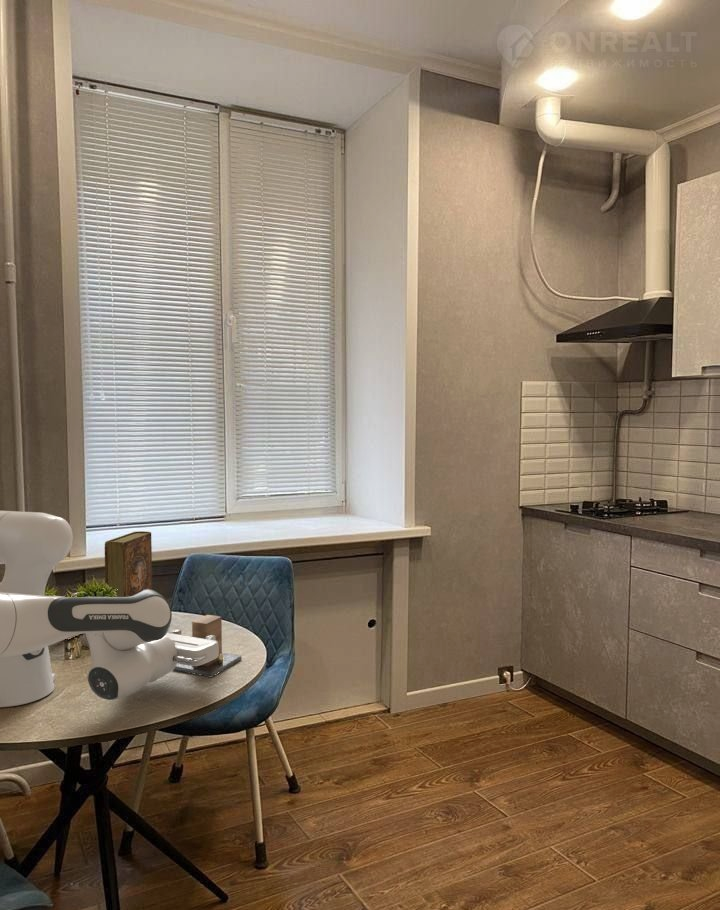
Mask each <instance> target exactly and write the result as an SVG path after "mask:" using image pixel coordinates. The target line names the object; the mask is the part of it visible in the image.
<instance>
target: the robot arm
mask: <svg viewBox="0 0 720 910" xmlns="http://www.w3.org/2000/svg"><path fill="white" fill-rule="evenodd" d="M72 530H73V529H72V527H71V525H70V524H69V522H68V521H67V520H66V519H65V518H63V517H61V516H60V517H59V516H56V515H53V514H49V513H46V512H36V511H15V510H14V511H13V510H0V565H4V566H5V567H4V568H5V570H4V575H3V578H2V581H0V708H7V707H15V706H20V705H21V706H22V705H25V704H29V703H32V702H35V701H38V700H40V699H43V698H45V697H46V696H48V695H50V694H51V693H52V692H54V689H55V684H54V681H55V679H56V676H55V673H54V672H52V666H51V665H52V664H51V657H50V656H51V655H50V650H49V649H50V648H49V646H52V645H54V644H56V643H59V642H61V641H65V640H64V639H67V638H70V637H72V636H76V635H79V634H81V635H83V634H84V636H85V637H84V638H85V640H86V645H87V646H88V648H89V652H90V666H89V669H88V673H87V682H88V685H89V687H90V689H91V691H92V692H93V693H94V694H95V695H97V697H99V698H101V699H104V700H108V701H114V700H119V699H120V700H121V699H123V698H126V697H128V696H130V695H132V694H134V693H136V692H138V691H139V690H142V689H143V688H145V687H146V685H147V684H148V683H153V682H156V681H157V680H160V678H163V677H164V676H166V675H168V674H170V673H171V672H173V671H175V670H174V668H175V667H176V664H177V663H178V664H183V665H189V666H200V665H203V664H205V663H208V662H210V661H212V660H214V659H216V658H217V657H218V655H219V645H218V642H217V641H216V638H215V636H214V635H208V636H206V639H203V638H197V637H192V635H191V636H190V635H183V634H182V630H181V629H176V628H175V629H173V630H170V631H169V629H170V626H171V623H172V617H173V615H172V608H171V605H170V603H169V602H168V600H167V598H165V597H164V596H163V595H162V594H160V593H159V592H158V591H156V590H153V589H152V590H150V589H147V590H143V591H141V592H139V593H137V594H135V595H134V596H130V597H106V596H84V597H62V596H63V595H62V596H60V595H57V596H56V595H45V591H46V588H47V587H46V586H47V582H48V580H49V577H50V575H51V573H52V571H53V570H54V569H55V567H56V566H57V565H58V564H59V563H61V562H62V561H63V560H64V559H65V558H66V557H67V555H68V554H69V553H70V551H71V548H72V546H73V541H74V540H73V539H74V537H73V535H74V534H73V531H72ZM79 636H80V635H79Z"/></svg>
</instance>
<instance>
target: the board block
mask: <svg viewBox="0 0 720 910" xmlns="http://www.w3.org/2000/svg"><path fill="white" fill-rule="evenodd" d="M222 621H223V620H222V616H220V615H213V614H206V615H203V616H202V617H199V618H197V619H195V620H193V621H191V637H197V638H203V639H206V636H208V635H214V636H215V638H216V641H217V642H218V645H219V654H222V651H223V643H222V641H223V638H222V637H223V636H222V635H223V634H222V632H223V631H222V630H223V627H222V625H223V623H222ZM217 660H218V657H217V658H216V659H214V660H212V661H210V662H208V663H205V664H203V666H208V665H210V664H212V663H213V662H215V661H217Z"/></svg>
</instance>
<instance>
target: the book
mask: <svg viewBox="0 0 720 910" xmlns="http://www.w3.org/2000/svg"><path fill="white" fill-rule="evenodd" d="M152 552H153V548H152V532H151V531H142V530H141V531H132V532H129V533H126V534H124V535H120V536H118V537H114V538H111V539H110V540H109V539H108V540H106V541H105V542H104V581H105V582H104V584H105V583H107V584H108V585H109V586H110V587H113V588H117V589H118V591H117V597H130V596H134V595H135V594H137V593H139V592H141V591H143V590H147V589H150V590H153V561H152V560H153V559H152V557H153V556H152V555H153V553H152ZM117 589H116V590H117Z"/></svg>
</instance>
